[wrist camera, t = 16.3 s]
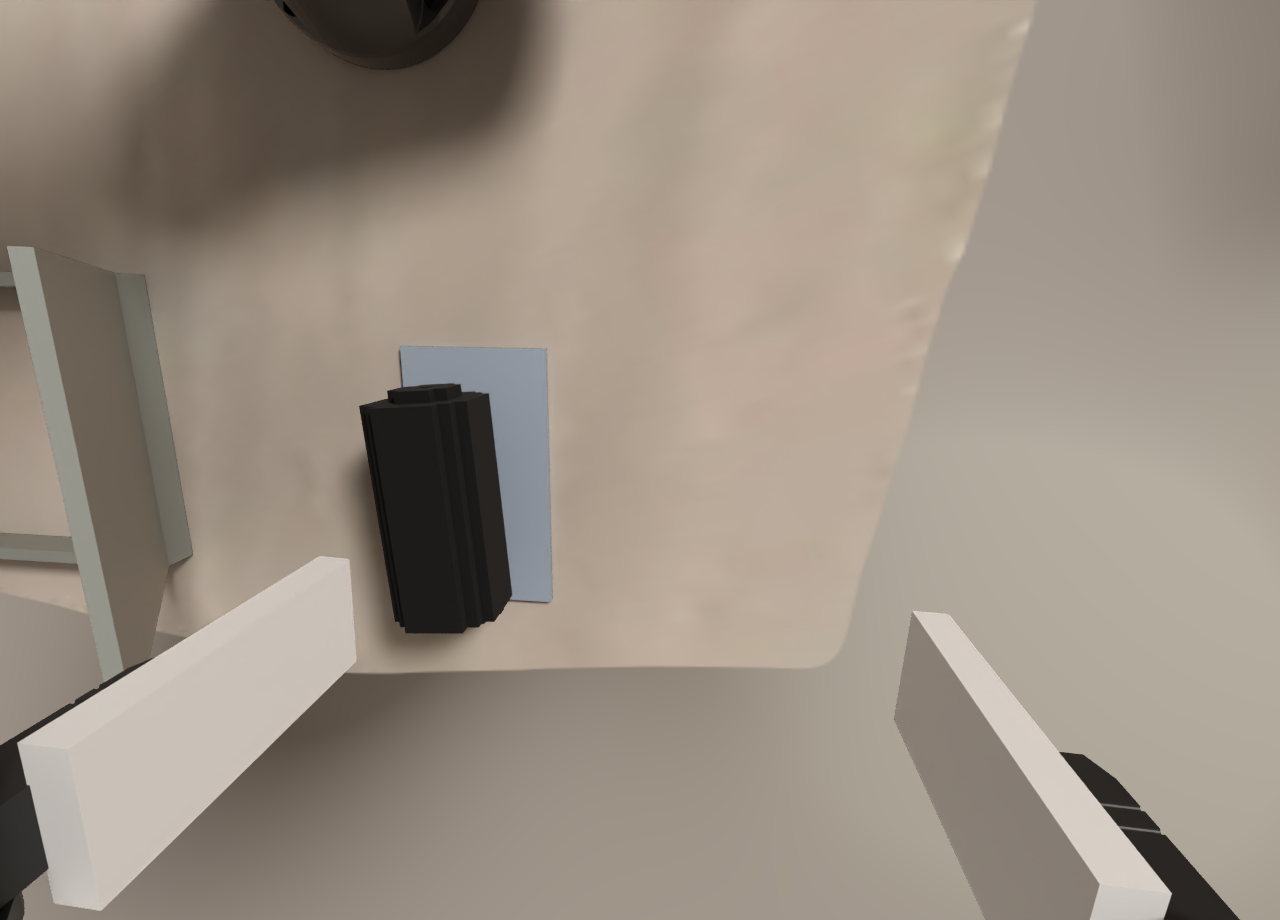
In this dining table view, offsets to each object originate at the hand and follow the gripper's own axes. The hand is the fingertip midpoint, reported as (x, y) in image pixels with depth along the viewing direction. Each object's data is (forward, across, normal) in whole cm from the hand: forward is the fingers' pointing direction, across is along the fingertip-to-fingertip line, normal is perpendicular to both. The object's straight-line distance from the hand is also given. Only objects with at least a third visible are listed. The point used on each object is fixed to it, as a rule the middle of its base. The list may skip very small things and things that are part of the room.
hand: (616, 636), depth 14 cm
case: (+31, -45, -3) cm, 55 cm away
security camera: (+31, -15, -7) cm, 35 cm away
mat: (+31, -15, -6) cm, 35 cm away
